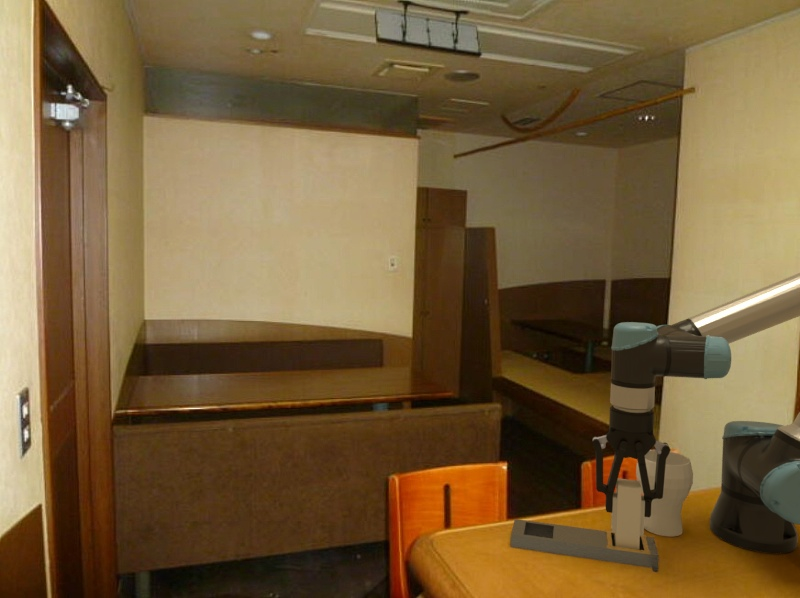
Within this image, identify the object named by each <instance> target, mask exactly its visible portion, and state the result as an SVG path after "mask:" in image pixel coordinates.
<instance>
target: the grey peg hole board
mask: <svg viewBox="0 0 800 598" xmlns="http://www.w3.org/2000/svg"><path fill="white" fill-rule="evenodd" d="M614 537H615V532H612V530H607V529H605V530H601V529H599V530H598V529H594V528H593V529H592V528H585V527H577V526H571V525H564V524H563V525H562V524H557V523H556V524H555V523H548V522H547V523H546V522H541V521H533V520H532V521H531V520H524V519H518V518H514V521H513V526H512V530H511V534H510V548H515V549H522V550H529V551H533V552H534V551H535V552H542V553H549V554H553V555H554V554H555V555H562V556H568V557H574V558H582V559H589V560H595V561H601V562H603V561H604V562H609V563H617V564H623V565H631V566H634V567H635V566H636V567H644V568H649V569H652V572H655V573H656V572H657V573H658V572H659V563H660V562H659V560H660V559H659V557H660V556H659V555H660V554H659V551H658V547H657V544H656V540H655V537H653V536H652V537H651V536H648V535H646V534H644V536H640V543H639V550H637V549H630V548H623V547H616V546H615V540H614Z"/></svg>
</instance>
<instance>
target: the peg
mask: <svg viewBox="0 0 800 598" xmlns="http://www.w3.org/2000/svg"><path fill="white" fill-rule="evenodd" d="M615 493H617V521H616V532H615V537H614V540H615V546H616V547H623V548H630V549H637V550H639V543H640V518H641V496H642V488H641V485H640V481H638V480H637V479H636V480H635V479H626V478H619V477H618V479H617V483H616V487H615Z"/></svg>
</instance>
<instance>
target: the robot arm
mask: <svg viewBox="0 0 800 598" xmlns="http://www.w3.org/2000/svg"><path fill="white" fill-rule="evenodd" d="M798 317H800V272H798V273H796V274H794V275H792V276H788V277H786V278H783V279H780V280H778V281H776V282H774V283H771V284H769V285H767V286H764V287H762V288H759V289H757V290H756V289H755V291H752V292H749V293H746V294H744V295H742V296H740V297H738V298H737V297H736V298H735V299H732V300H730V301H727V302H725V303H722V304H720V305H718V306H715V307H712V308H710V309H708V310H705V311H702V312H700V313H698V314H695V315H693V316H690V317H688V318H686V319H683V320H680V321H678V322H676V323H673V324H661V325H655V324H653V323H648V322H637V321H636V322H634V321H631V322H629V321H626V322H625V321H623V322H620V323H617V324H616V325H615V326H614V327H613V334H612V343H611V347H610V348H611V370H610V371H611V374H610V375H611V377H610V379H611V380H610V393H609V394H610V396H609V397H610V399H609V403H610V405H611V406H610V407H609V423H608V427H609V428H608V430H607V431H606V433H605V435H602V436H596V435H595V436H592V438H591V439H592V445H593V448H594V451H595V485H596V486H595V487H596V491H597V492H598V493H603V494H604V495H605V510H606V513H611V519H610V521H611V522H610V527H611V531H612V532H616V521H617V493H616V483H617V479H618V478H619V475H620V471H621V467H622V465H623V462H624V459H629V458H631V459H635V460H637V461H636V462H638V466H639V472H640V477H641V483H642V488H643V493H644V496H643V495H641V518H640V536H644V535H645V529H644V517H650V516H651V502H652V500H653V499H657V498H658V499H662V498H663V489H664V477H665V465H666V458H667V457H668V455H669V453H670V452H671V448H670V447H671V446H669V444H668V443H667V442H662V441H659V440H658V439H656V436H655V435H654V420H655V419H654V418H655V412H654V410H653V408H654V407H655V392H656V378H657V377H671V378H673V377H674V378H688V379H689V378H692V379H694V378H695V379H704V380H707V379H723V378H725V377H726V376H727V375H728V374H729V372H730V370H731V366H732V351H731V347H730V344H732V343H735V342H737V341H739V340H742V339H744V338H747V337H749V336H752V335H755V334H757V333H760V332H762V331H765V330H767V329H770V328H773V327H775V326H778V325H780V324H783V323H786V322H788V321H791V320H793V319H796V318H798ZM721 437H722V438H721V439H722V458H721V462H722V463H721V486H720V488H721V489H720V494H719V495H718V498H717V499H716V502H715V504H714V506H713V508H712V511H711V513H710V515H709V516H710V517H709V529H710V531H711V532H712V533H713V534H714V535H715V536H716V537H717V538H719V539H720V540H723V541H725V542H726V543H729V544H730V545H734V546H736V547H738V548H741V549H745V550H749V551H753V552H758V553H765V554H775V555H777V554H786V553H787V554H788V553H790V552H791V553H792V552H793V551H795V550H796V549H797V548H798V540H799V539H798V538H799V534H798V531H797V527H796V525H799V526H800V411H799V412H798V414H797V416H796V417H795V418H794V421H793V422H791V423H790V424H786V425H784V424H783V425H782V424H777V423H773V422H772V423H771V422H765V421H753V420H751V421H750V420H735V421H734V420H733V421H729V422H727V423H726V424H725V426H724V429H723V435H722V436H721ZM607 443H609V445H610V446H611V447H612V449H613V451H614V455H613V456H614V457H613V461H612V463H611V468H610V472H609V476H608V479H607V483H606V484H605V483H604V449H606V447H607V446H606V444H607ZM653 447H655V448H654V450H655V451H656V453H657V460H656V472H655V484H654V489H653V490H650V485H649V479H648V474H647V468H646V462H645V455H646V454H647V453H648V452H649V451H650V450H652V448H653Z"/></svg>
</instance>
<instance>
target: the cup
mask: <svg viewBox="0 0 800 598" xmlns="http://www.w3.org/2000/svg"><path fill="white" fill-rule="evenodd" d="M656 460H657V453H656V451H655V449H650V451H649V452H648V453H647V454H646V455H645V462H646V468H647V474H648V479H649V485H650V490H653V489H654V484H655V472H656ZM635 469H636V470H635V471H636V472H635V477H636V480H637V481H640V485H641V488H642V483H641V477H640V472H639V466H638V461H636V467H635ZM693 479H694V472H693V467H692V462H691V460H690V458H689V457H687V456H685V455H684V454H681V453H679V452H674V451H670V453H669V455H668V457H667V458H666V465H665V477H664V489H663V498H662V499H658V498H657V499H653V500H652V502H651V516H650V517H644V530H646V531H647V532H649V533H651V534H655V535H657V536H662V537H678V536H681V535H682V534H683V531H684V530H683V521H682V515H681V514H682V509H683V504H684V502H685V500H686V499H687V498H688V496H689V494H690V492H691V489H692V486H693V482H694V480H693ZM641 495H642V496H644V493H643V488H642V493H641Z"/></svg>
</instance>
